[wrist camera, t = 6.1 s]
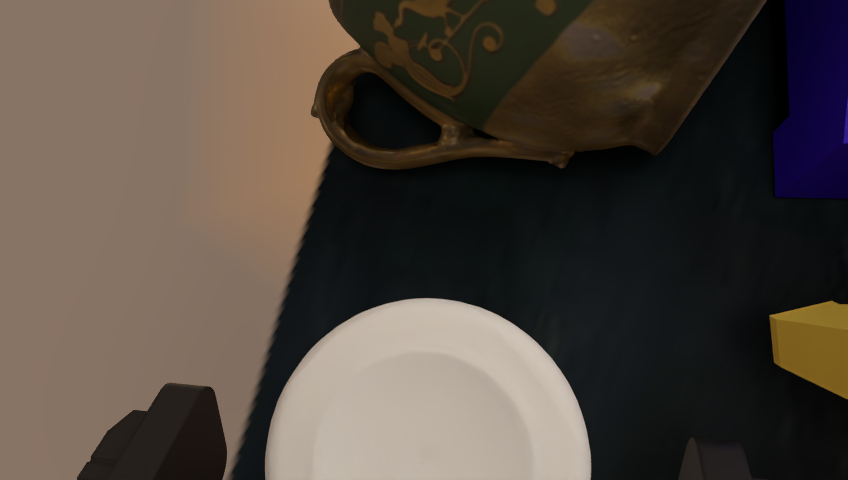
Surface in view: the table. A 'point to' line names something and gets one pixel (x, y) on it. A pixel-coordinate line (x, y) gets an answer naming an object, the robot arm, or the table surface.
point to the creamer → (530, 73)
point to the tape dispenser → (814, 103)
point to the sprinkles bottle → (427, 402)
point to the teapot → (814, 344)
